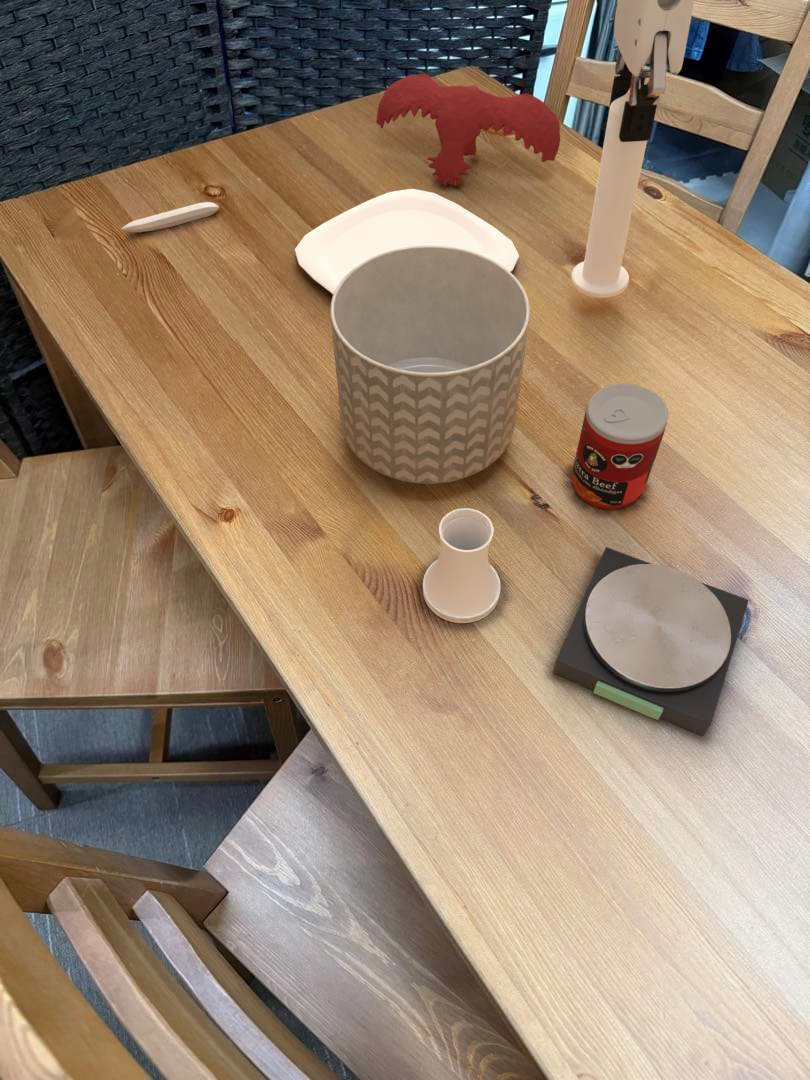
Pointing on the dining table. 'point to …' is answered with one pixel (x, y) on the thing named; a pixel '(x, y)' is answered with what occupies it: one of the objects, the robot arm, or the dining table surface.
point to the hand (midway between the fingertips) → (628, 125)
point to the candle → (611, 211)
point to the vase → (462, 569)
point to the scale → (653, 640)
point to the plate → (397, 234)
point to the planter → (429, 361)
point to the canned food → (618, 444)
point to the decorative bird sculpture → (469, 120)
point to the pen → (172, 217)
